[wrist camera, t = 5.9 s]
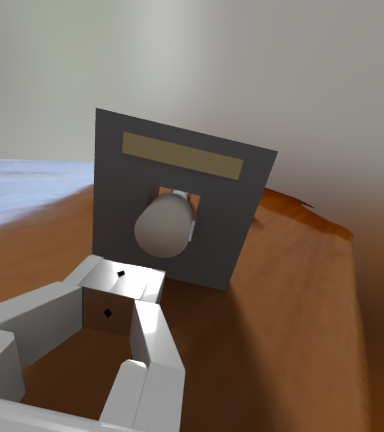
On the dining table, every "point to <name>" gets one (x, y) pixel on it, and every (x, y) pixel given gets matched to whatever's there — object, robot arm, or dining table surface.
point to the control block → (178, 180)
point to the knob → (165, 225)
